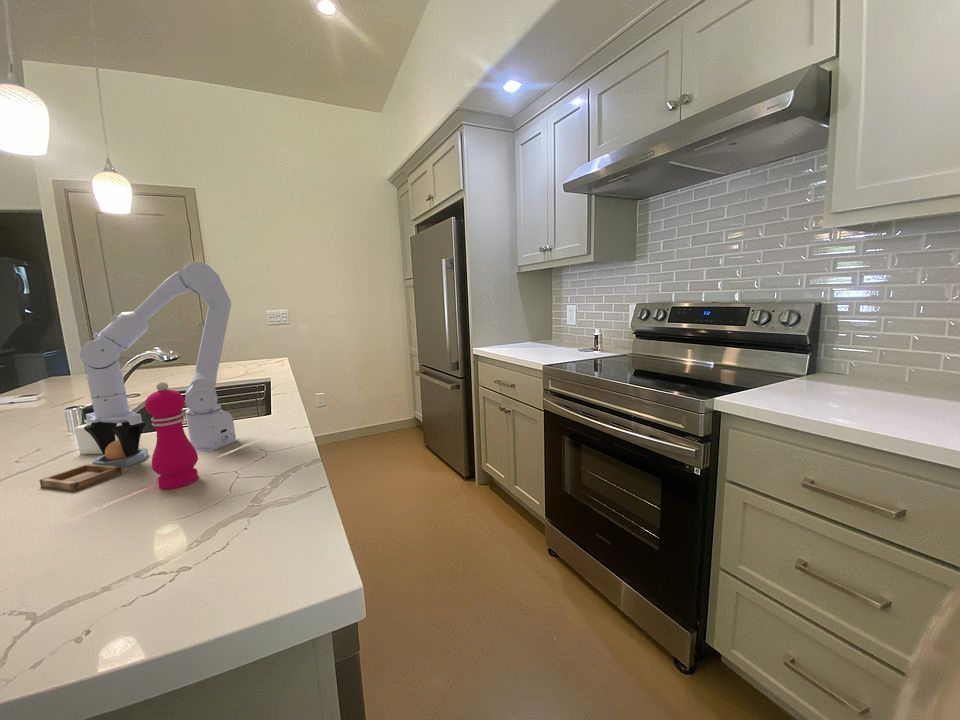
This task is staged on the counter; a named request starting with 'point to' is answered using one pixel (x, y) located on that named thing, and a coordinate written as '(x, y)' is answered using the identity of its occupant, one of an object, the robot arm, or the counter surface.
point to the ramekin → (125, 462)
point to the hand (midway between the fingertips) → (120, 453)
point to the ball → (114, 451)
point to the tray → (80, 477)
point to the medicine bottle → (88, 435)
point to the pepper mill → (171, 439)
